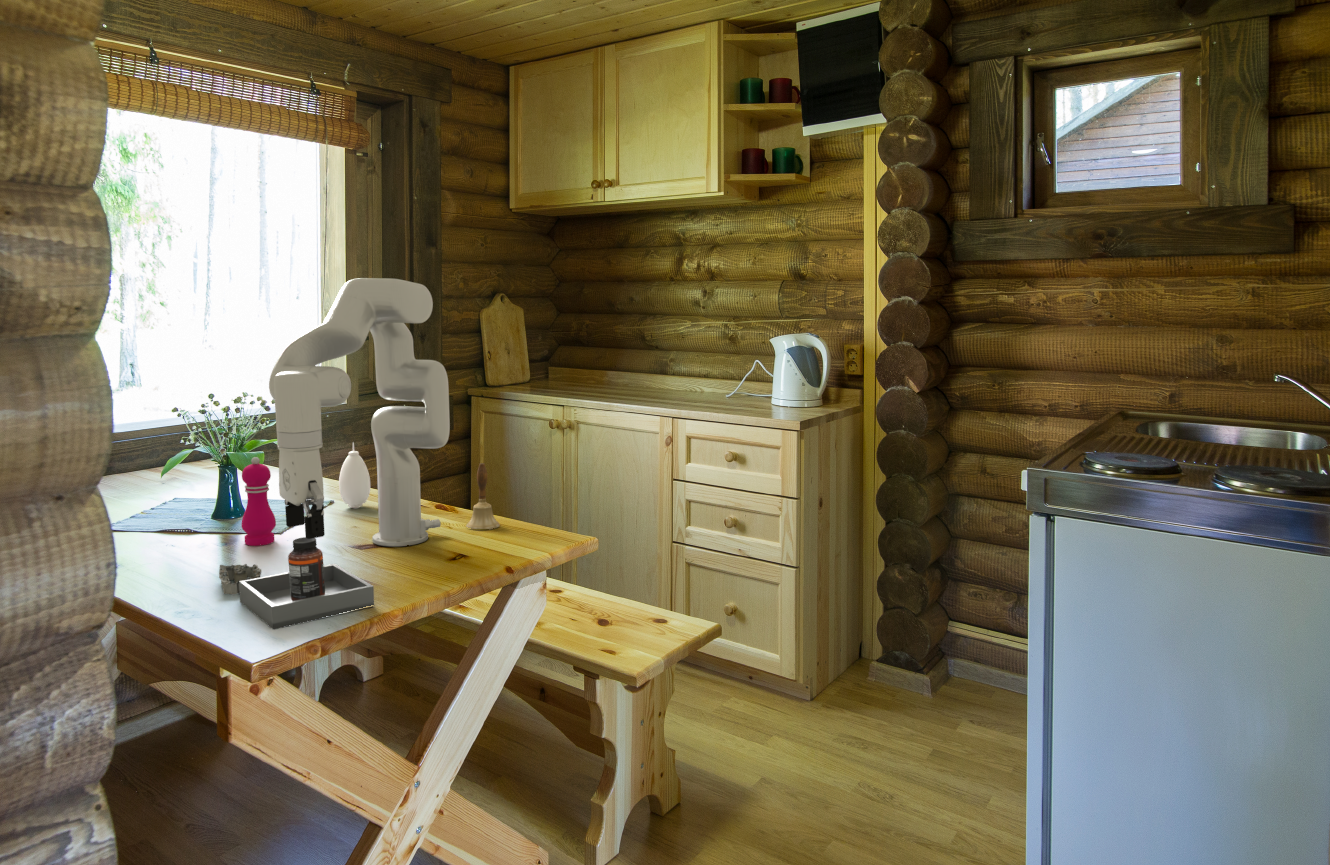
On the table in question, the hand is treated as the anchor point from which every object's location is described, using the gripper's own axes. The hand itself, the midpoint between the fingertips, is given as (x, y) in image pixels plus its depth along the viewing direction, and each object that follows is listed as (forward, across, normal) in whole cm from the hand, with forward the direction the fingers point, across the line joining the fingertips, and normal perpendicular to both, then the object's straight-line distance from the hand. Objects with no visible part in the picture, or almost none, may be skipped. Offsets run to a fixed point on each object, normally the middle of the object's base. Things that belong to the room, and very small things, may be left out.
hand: (305, 531), depth 164 cm
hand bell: (+16, -30, +54) cm, 64 cm away
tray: (+14, +1, -1) cm, 14 cm away
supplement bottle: (+13, +1, 0) cm, 13 cm away
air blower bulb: (+16, -68, +37) cm, 79 cm away
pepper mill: (+15, -48, +6) cm, 51 cm away
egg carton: (+14, -18, -7) cm, 24 cm away
